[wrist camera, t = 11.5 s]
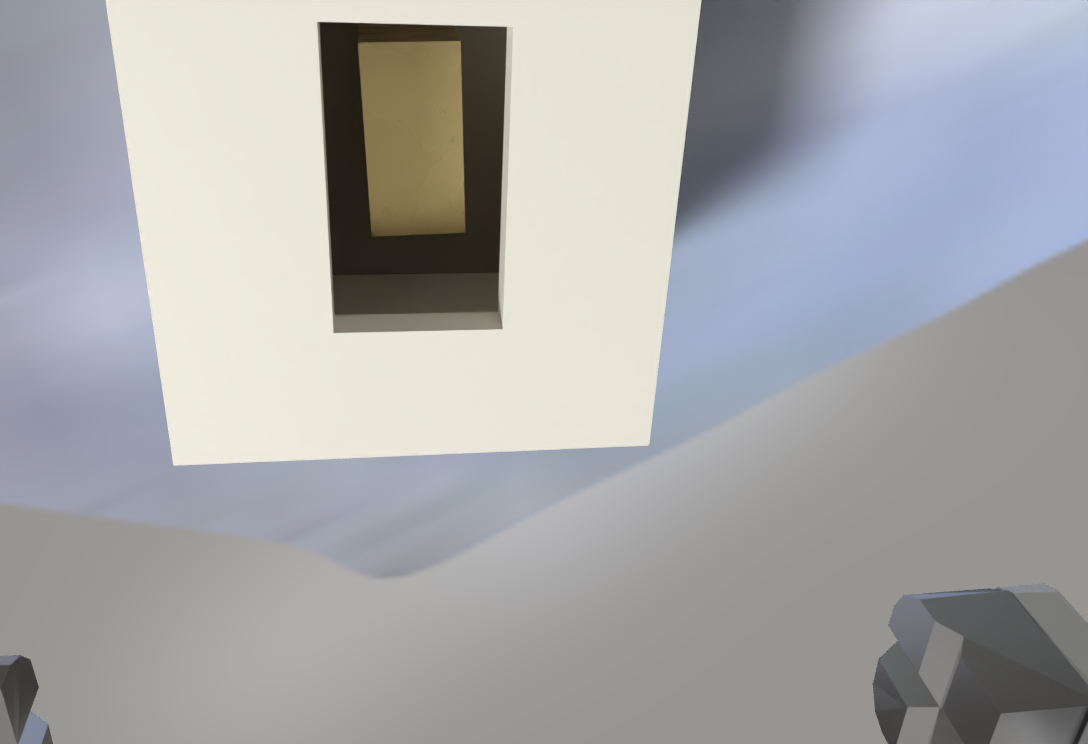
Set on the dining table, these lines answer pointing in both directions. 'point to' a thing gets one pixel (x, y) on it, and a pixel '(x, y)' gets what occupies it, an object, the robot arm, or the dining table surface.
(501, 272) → the money box
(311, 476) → the dining table surface
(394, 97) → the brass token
